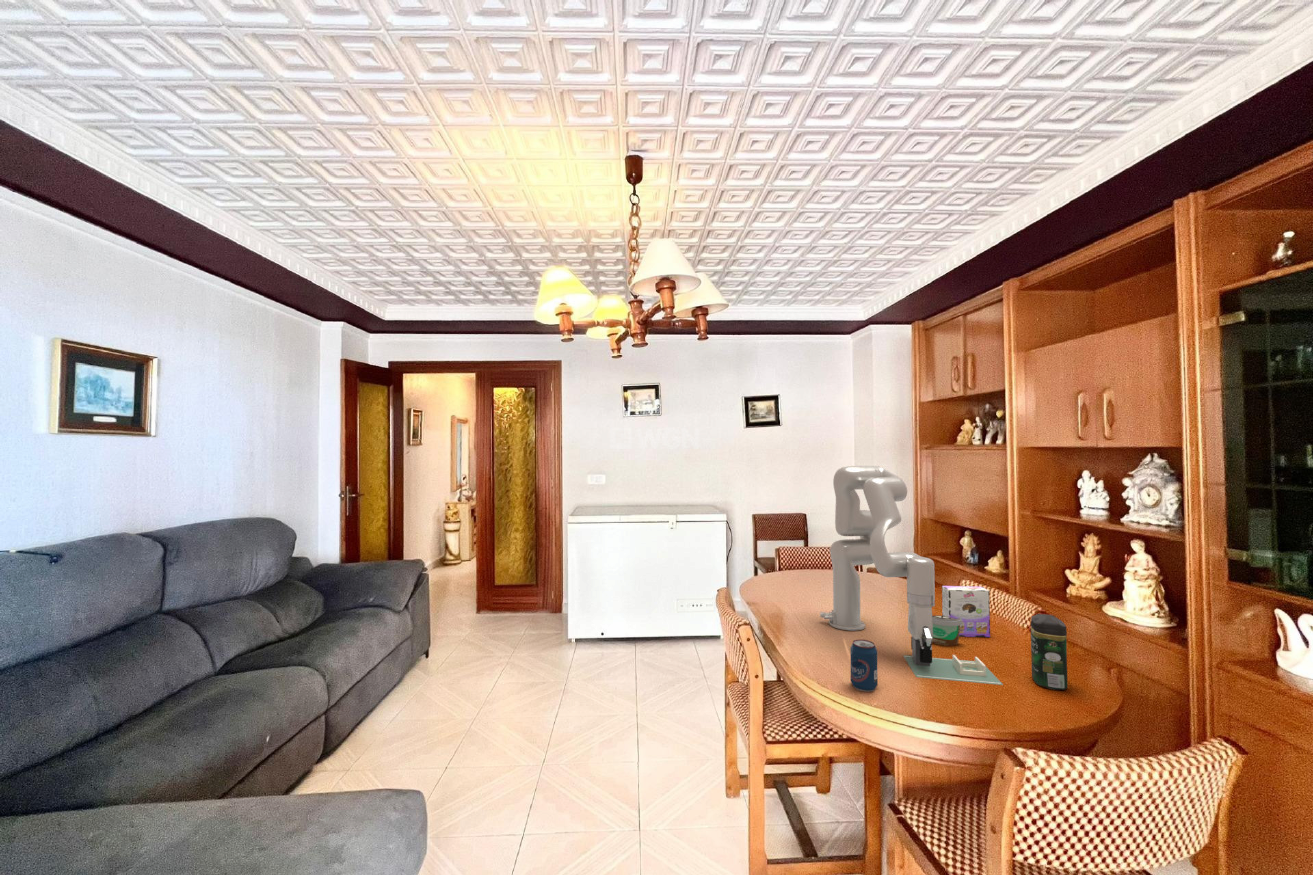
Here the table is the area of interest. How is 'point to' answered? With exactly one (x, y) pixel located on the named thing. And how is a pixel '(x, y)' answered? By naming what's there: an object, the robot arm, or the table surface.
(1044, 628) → the coffee jar
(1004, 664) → the table surface
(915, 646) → the plug
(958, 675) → the board
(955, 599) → the candy box
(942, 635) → the food container
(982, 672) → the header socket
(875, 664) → the soda can
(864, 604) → the table surface
